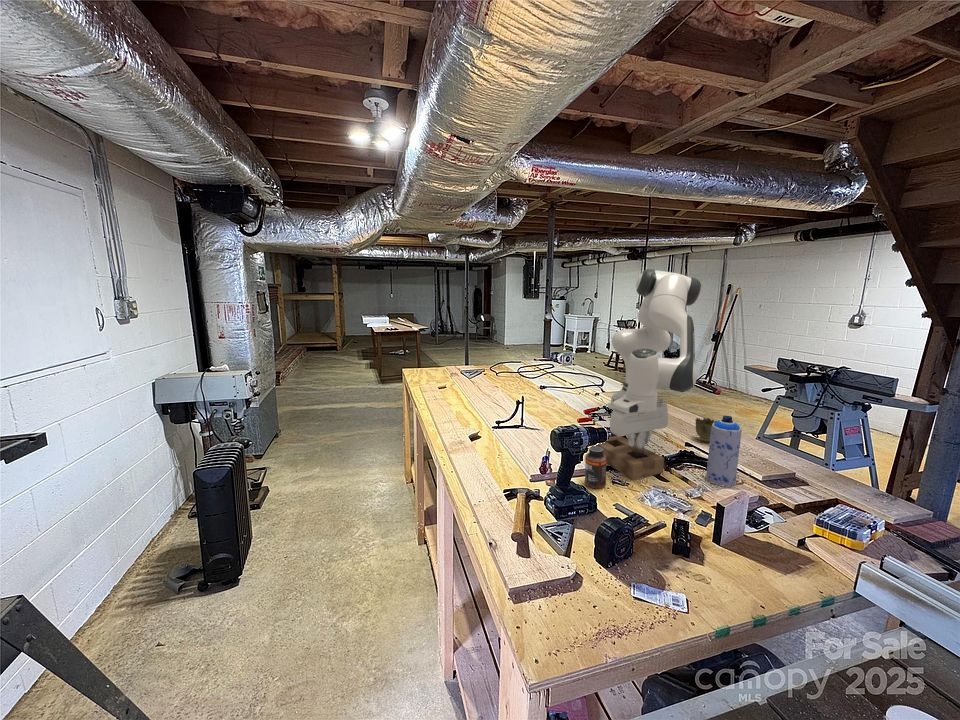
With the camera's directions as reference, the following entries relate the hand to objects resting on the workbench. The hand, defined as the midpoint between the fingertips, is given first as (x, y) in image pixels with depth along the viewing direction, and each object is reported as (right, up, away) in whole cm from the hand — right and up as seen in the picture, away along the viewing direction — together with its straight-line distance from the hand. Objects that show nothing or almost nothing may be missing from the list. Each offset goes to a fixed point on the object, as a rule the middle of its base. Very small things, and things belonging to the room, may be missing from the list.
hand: (638, 444), depth 120 cm
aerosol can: (+22, -10, -6) cm, 25 cm away
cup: (+34, -4, +23) cm, 42 cm away
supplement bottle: (-16, -11, -7) cm, 20 cm away
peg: (0, -4, +1) cm, 4 cm away
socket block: (-2, -8, +6) cm, 10 cm away
